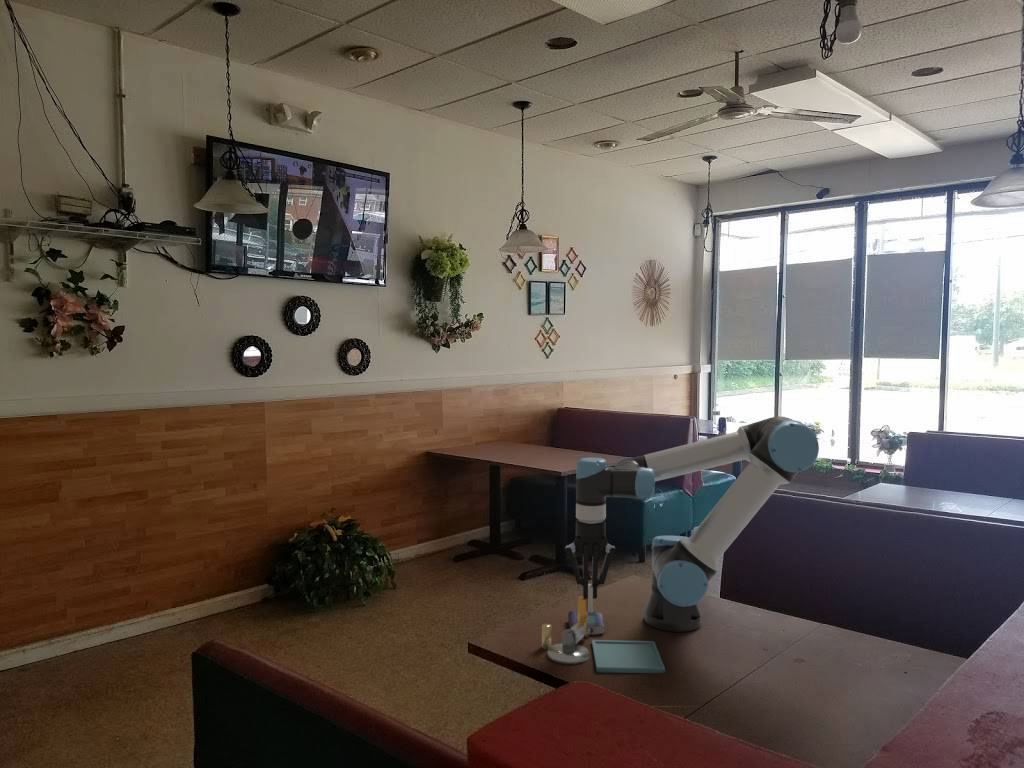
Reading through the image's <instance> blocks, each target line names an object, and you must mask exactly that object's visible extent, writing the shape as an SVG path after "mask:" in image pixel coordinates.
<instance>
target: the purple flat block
mask: <svg viewBox="0 0 1024 768" xmlns="http://www.w3.org/2000/svg"><path fill="white" fill-rule="evenodd" d="M567 615H568V617H567V619H568V629H571V628H572V627H573V626H574V625H575V624H576V623H577V622H578V610H573V609H571V610H570V611H568V614H567ZM605 630H606V629H605V625H604V619H603V614H602V613H601V612H599V611H593V613H588V634H587V635H585V636H584V637H585V638H588V637H589V638H590V635H602V634H603V633H604V632H605Z"/></svg>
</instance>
